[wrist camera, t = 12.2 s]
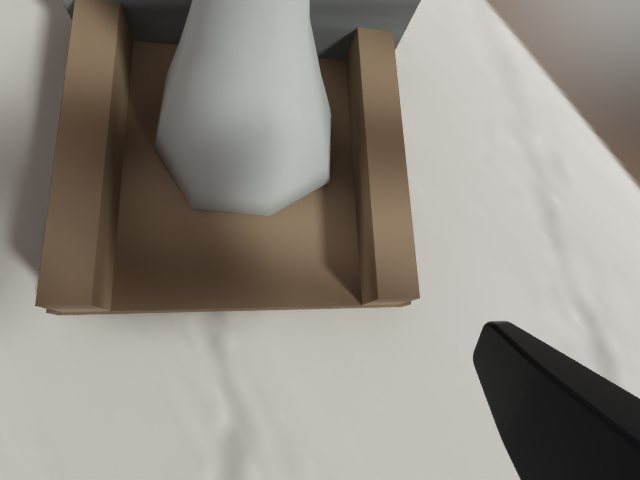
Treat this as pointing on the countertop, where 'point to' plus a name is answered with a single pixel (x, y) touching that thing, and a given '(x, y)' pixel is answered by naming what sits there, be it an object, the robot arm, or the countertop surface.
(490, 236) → the countertop surface
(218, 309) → the stand
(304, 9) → the flask
